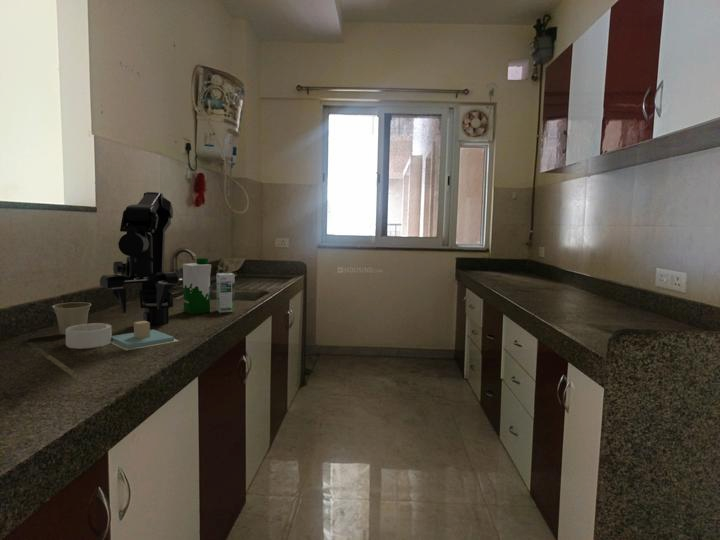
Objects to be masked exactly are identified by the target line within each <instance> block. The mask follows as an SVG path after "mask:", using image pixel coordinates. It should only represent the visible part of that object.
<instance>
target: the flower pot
mask: <svg viewBox="0 0 720 540" xmlns="http://www.w3.org/2000/svg"><path fill="white" fill-rule="evenodd" d="M91 306H92V303H91V302H83V301H81V302H78V301H77V302H76V301H75V302H65V303H63V302H62V303H57V304H54V305H52V309H53V311H54V313H55V314H56V320H57V324H58V330H59V335H66V332H65V329H67V328H68V327H71V326H75V325H81V324H88V319H89V318H88V316H89V311H90V308H91Z"/></svg>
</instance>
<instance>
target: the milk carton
mask: <svg viewBox="0 0 720 540" xmlns="http://www.w3.org/2000/svg"><path fill="white" fill-rule="evenodd" d="M211 271H212V264H210V263H209V258H206V257H198V258H196V262H195V263H194V262H193V263H191V262H189V263H182V273H183V274H182V279H183V282H182V287H183V297H182V299H183V312H184V313H186V314H189V315H199V314H198V313H201V314H207V313H206V312H210V313H211Z"/></svg>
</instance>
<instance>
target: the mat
mask: <svg viewBox="0 0 720 540" xmlns="http://www.w3.org/2000/svg"><path fill="white" fill-rule="evenodd" d="M179 341H180V340H178V339H176V338H174V341H169V342H164V343H158V344H153V345H147V346H141V347H136V348H130V349H128V348H126V347H124V346H122V345H120V344H117V343H115V342H113V341H111V342H110V344H112V345H114V346H116V347H117V348H120V349H122V350H124V351H131V350H137V349H143V348H148V347H153V346H159V345H164V344H170V343H176V342H179Z"/></svg>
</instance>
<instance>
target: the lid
mask: <svg viewBox="0 0 720 540" xmlns="http://www.w3.org/2000/svg"><path fill="white" fill-rule="evenodd" d="M174 339H175V337H174V336H172V335H170V334H167V333H164V332H161V331H159V330H156V329H151V326H150V322H147V321H143V320H140V321H139V320H138V321H134V322H133V332H130V333H129V332H128V333H122V334H117V335H112V341H113V342H115V343H117V344H120V345H122V346H124V347H126V348H128V349H130V348H136V347H141V346H147V345H153V344H158V343H164V342H169V341H174Z"/></svg>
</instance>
